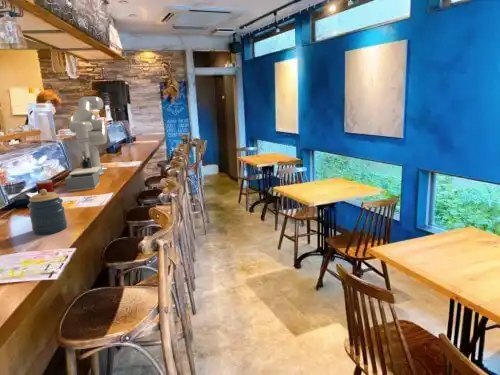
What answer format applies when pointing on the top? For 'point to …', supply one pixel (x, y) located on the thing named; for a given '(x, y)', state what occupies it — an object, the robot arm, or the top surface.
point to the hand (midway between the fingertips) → (87, 166)
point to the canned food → (45, 185)
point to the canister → (47, 213)
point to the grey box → (82, 181)
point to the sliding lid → (85, 169)
